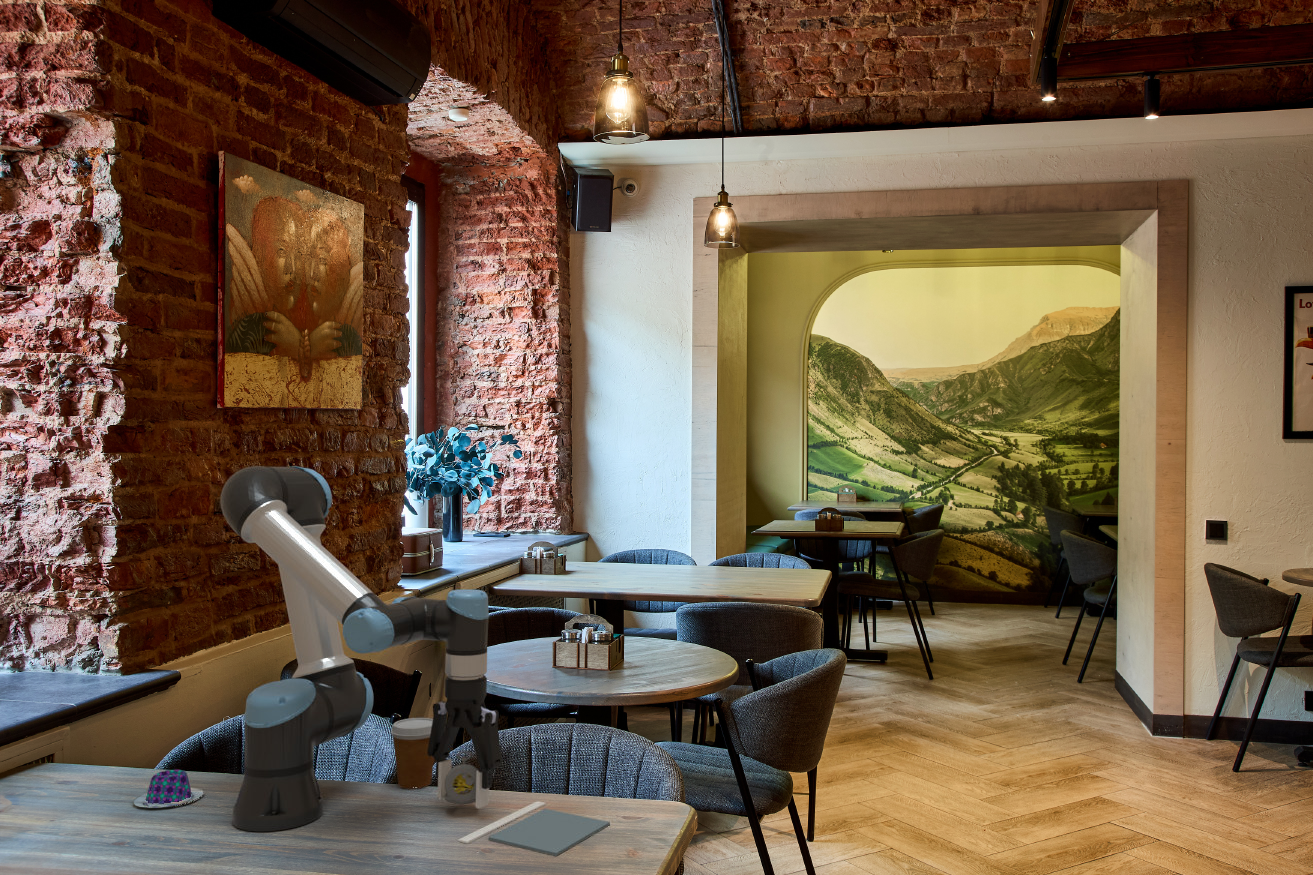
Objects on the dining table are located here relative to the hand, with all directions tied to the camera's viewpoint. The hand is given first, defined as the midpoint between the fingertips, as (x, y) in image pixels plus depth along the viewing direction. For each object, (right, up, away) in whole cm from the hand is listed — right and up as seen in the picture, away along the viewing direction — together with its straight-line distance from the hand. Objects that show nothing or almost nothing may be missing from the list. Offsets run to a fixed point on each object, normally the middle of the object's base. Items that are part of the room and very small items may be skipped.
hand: (463, 800), depth 173 cm
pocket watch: (0, -1, 0) cm, 1 cm away
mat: (+17, -2, -10) cm, 20 cm away
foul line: (+8, -2, -5) cm, 10 cm away
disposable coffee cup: (-13, -3, +17) cm, 21 cm away
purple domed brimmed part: (-57, -3, +7) cm, 58 cm away
